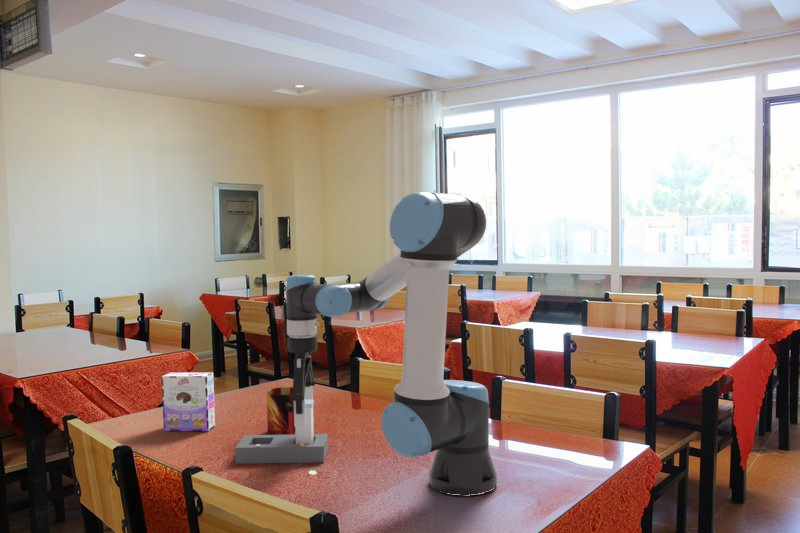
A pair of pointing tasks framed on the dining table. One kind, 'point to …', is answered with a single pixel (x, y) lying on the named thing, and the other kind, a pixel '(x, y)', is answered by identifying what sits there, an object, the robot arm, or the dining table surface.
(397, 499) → the dining table surface
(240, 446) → the panel
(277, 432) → the mug
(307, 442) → the plug
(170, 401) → the candy box
